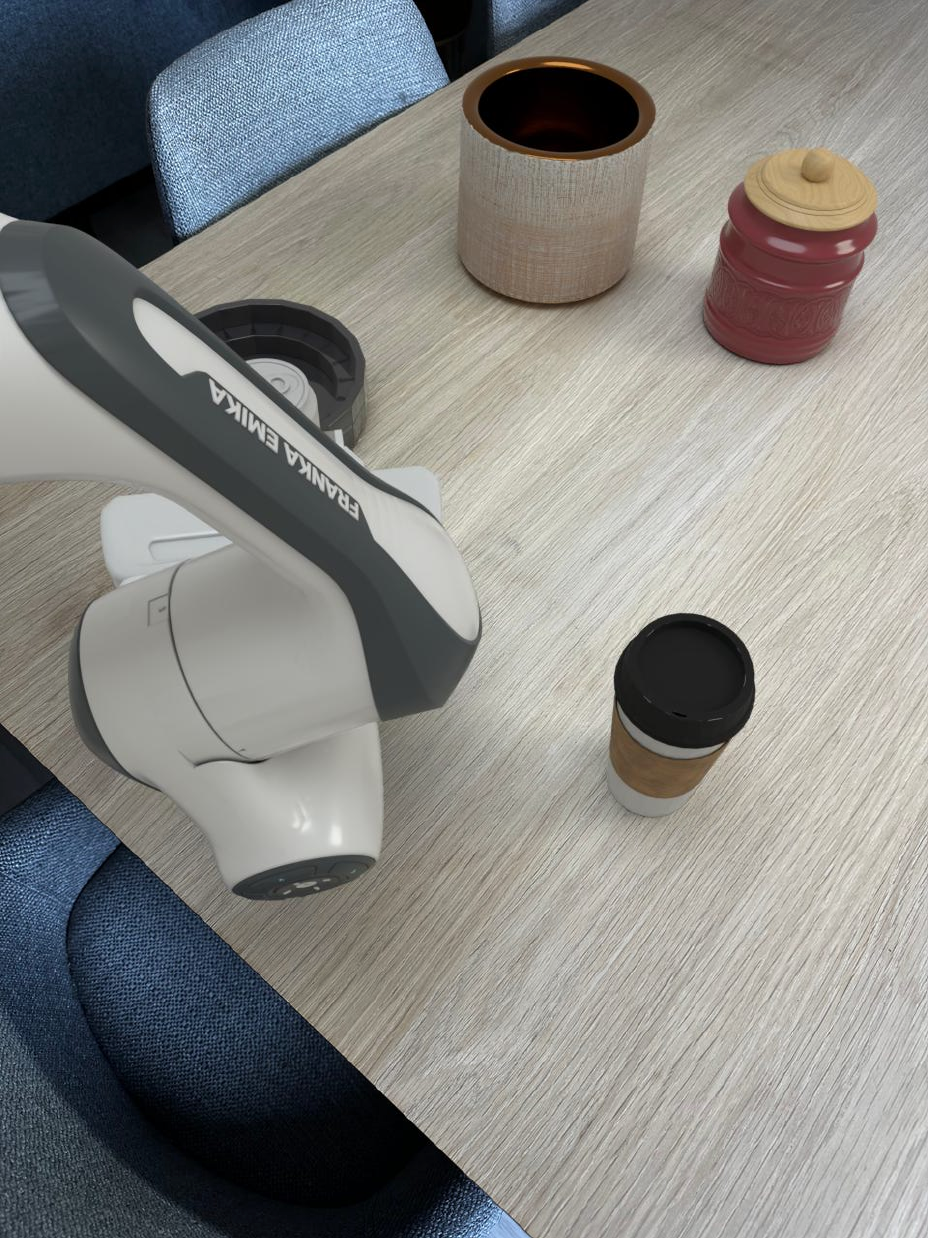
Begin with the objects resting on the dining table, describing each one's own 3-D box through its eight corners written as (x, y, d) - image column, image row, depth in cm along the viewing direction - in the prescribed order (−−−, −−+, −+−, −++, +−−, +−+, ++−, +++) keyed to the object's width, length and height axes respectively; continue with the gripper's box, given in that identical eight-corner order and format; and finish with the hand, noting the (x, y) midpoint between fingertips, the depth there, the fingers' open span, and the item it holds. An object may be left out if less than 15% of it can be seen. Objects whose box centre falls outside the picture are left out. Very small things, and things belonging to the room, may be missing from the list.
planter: (661, 241, 107) (692, 91, 94) (575, 335, 98) (597, 184, 85) (515, 183, 112) (526, 33, 99) (422, 267, 104) (420, 115, 91)
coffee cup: (574, 812, 70) (603, 701, 58) (605, 710, 75) (638, 587, 63) (696, 851, 69) (752, 746, 57) (719, 745, 74) (776, 626, 61)
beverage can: (224, 504, 72) (191, 371, 62) (310, 474, 74) (291, 340, 64) (256, 569, 69) (227, 440, 59) (345, 537, 71) (331, 406, 61)
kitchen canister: (714, 267, 105) (759, 95, 90) (843, 297, 103) (910, 125, 88) (686, 348, 98) (730, 175, 83) (824, 381, 95) (894, 210, 81)
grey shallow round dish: (174, 513, 85) (160, 471, 81) (140, 365, 95) (126, 321, 90) (393, 464, 88) (391, 421, 84) (338, 326, 98) (334, 282, 94)
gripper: (467, 562, 57) (431, 390, 65) (86, 606, 55) (96, 422, 63) (464, 627, 62) (431, 461, 70) (116, 669, 60) (121, 492, 68)
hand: (270, 443), depth 66 cm, fingers closed on beverage can, 6 cm apart
